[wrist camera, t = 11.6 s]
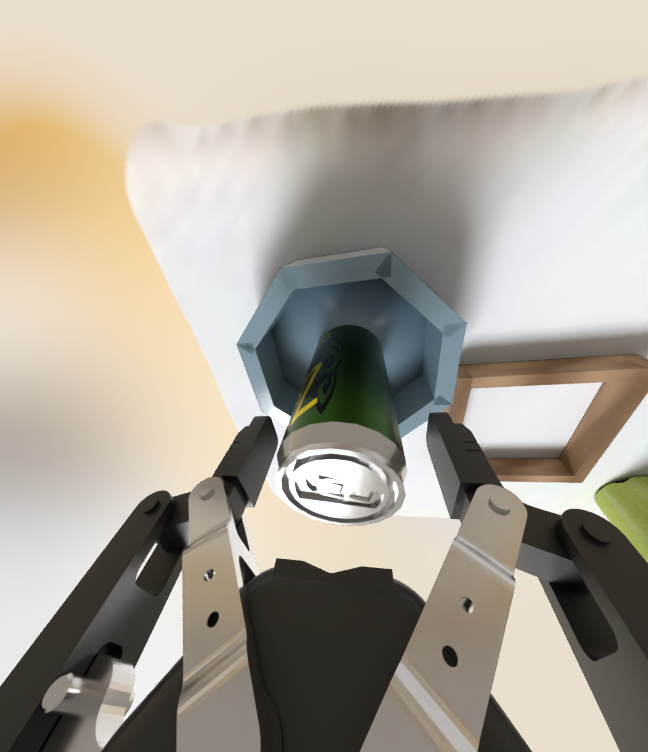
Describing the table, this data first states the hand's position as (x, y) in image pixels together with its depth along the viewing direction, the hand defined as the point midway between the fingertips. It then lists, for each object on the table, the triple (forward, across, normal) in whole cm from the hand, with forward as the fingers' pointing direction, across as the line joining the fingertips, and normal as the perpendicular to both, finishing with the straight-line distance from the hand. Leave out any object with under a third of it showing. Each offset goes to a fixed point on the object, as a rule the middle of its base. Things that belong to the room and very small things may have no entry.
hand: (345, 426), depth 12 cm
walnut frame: (+10, -15, +9) cm, 20 cm away
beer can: (+9, 0, 0) cm, 9 cm away
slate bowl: (+9, 0, 0) cm, 9 cm away
